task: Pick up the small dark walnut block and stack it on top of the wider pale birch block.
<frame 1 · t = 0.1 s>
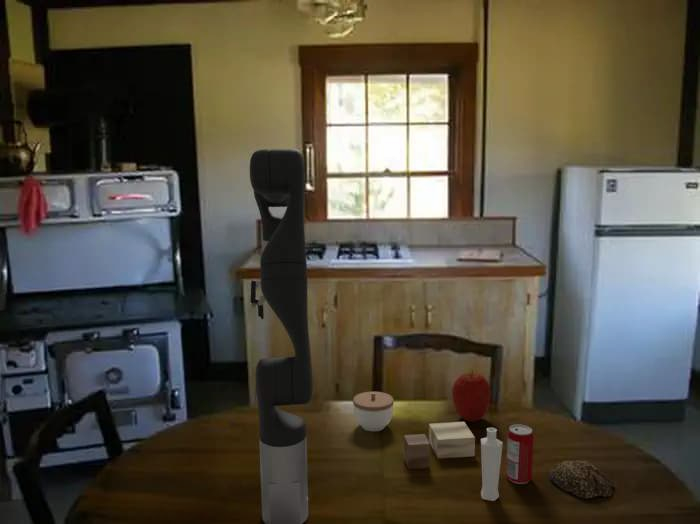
hand: (278, 317, 166), 29 cm above the table, tool pointing down, fingers open, 8 cm apart
walnut block: (416, 463, 149), on the table
perfume bottle: (488, 496, 134), on the table
lidded jar: (373, 427, 168), on the table
soda can: (518, 479, 141), on the table
birch block: (451, 449, 156), on the table
apple: (470, 419, 173), on the table
bread roll: (582, 485, 139), on the table
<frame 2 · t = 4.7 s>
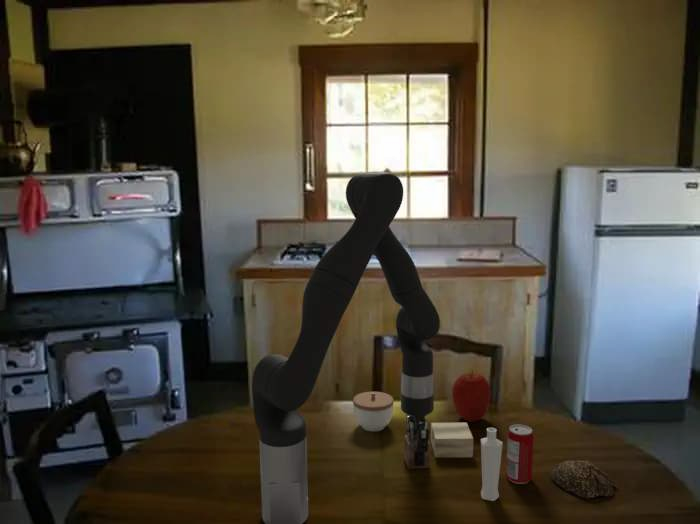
hand: (416, 459, 149), 1 cm above the table, tool pointing down, fingers closed on walnut block, 5 cm apart
walnut block: (416, 463, 149), on the table, touching gripper
everything else where it was.
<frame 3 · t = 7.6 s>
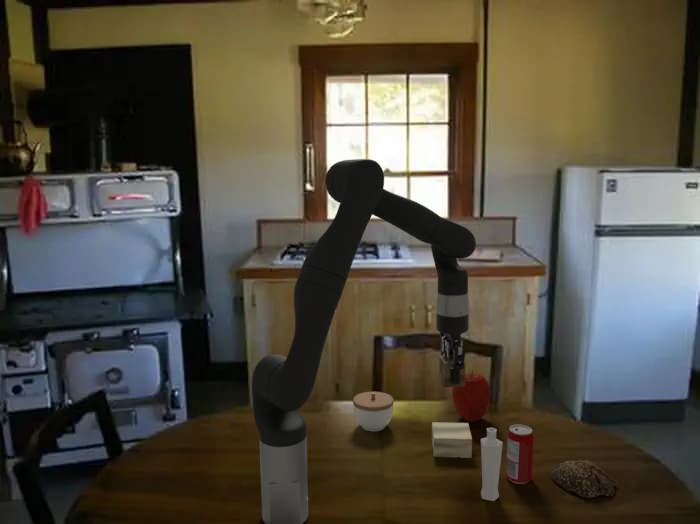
hand: (451, 379, 152), 18 cm above the table, tool pointing down, fingers closed on walnut block, 5 cm apart
walnut block: (451, 382, 153), point 17 cm above the table, touching gripper
everything else where it was.
when the fingers open (7 cm above the table, at t = 10.4 s): walnut block drops 1 cm, point 5 cm above the table.
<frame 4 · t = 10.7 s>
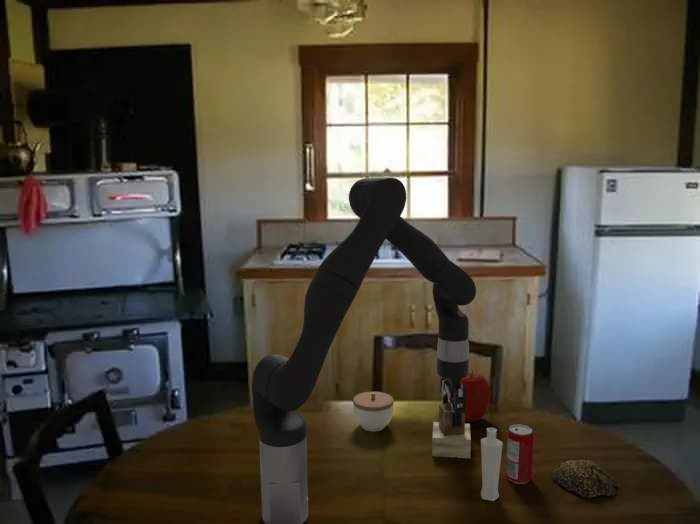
hand: (451, 419, 154), 8 cm above the table, tool pointing down, fingers open, 8 cm apart
walnut block: (451, 430, 155), point 5 cm above the table
everything else where it was.
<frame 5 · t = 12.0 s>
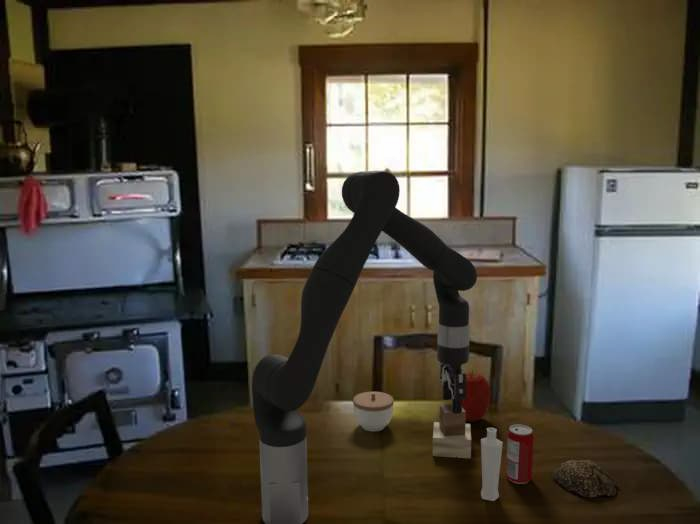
hand: (451, 406, 154), 11 cm above the table, tool pointing down, fingers open, 8 cm apart
walnut block: (452, 431, 155), point 5 cm above the table, touching birch block
birch block: (451, 449, 156), on the table, touching walnut block
everything else where it was.
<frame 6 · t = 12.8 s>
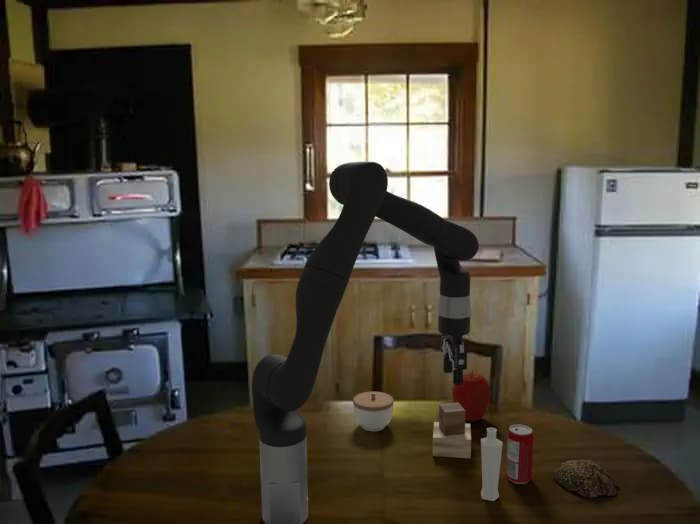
hand: (452, 378, 152), 18 cm above the table, tool pointing down, fingers open, 8 cm apart
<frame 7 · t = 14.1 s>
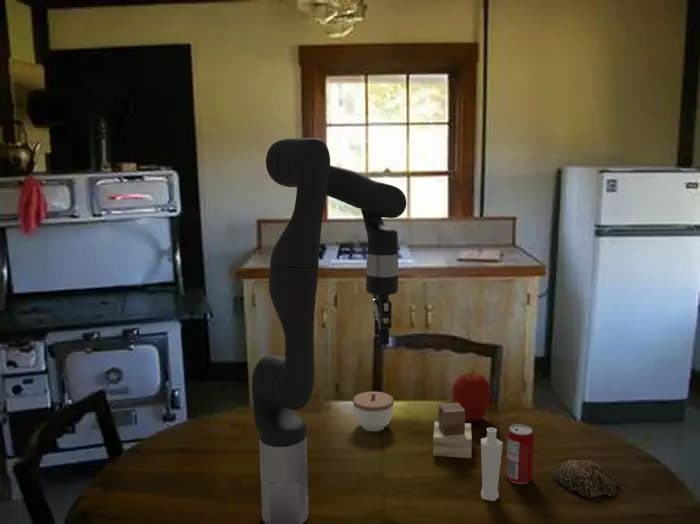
hand: (381, 339, 151), 28 cm above the table, tool pointing down, fingers open, 8 cm apart
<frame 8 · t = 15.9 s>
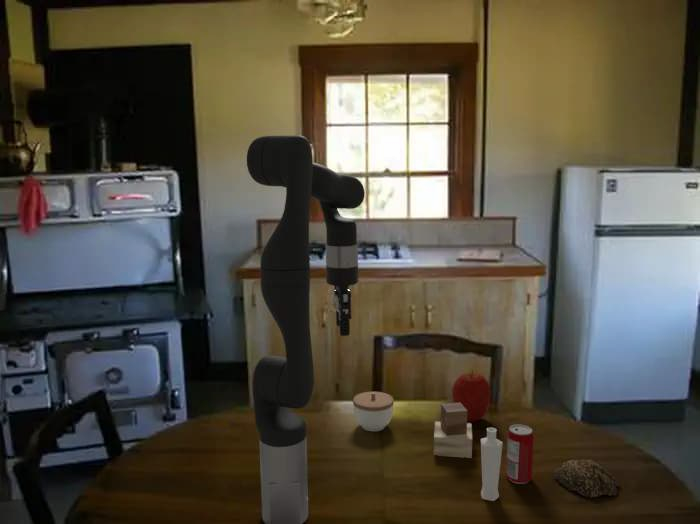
hand: (342, 330, 151), 30 cm above the table, tool pointing down, fingers open, 8 cm apart
at the end: walnut block inside the target area on the birch block (0.1 cm from its centre), point 5.0 cm above the birch block's base; walnut block tilted 0°; the gripper is holding nothing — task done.
